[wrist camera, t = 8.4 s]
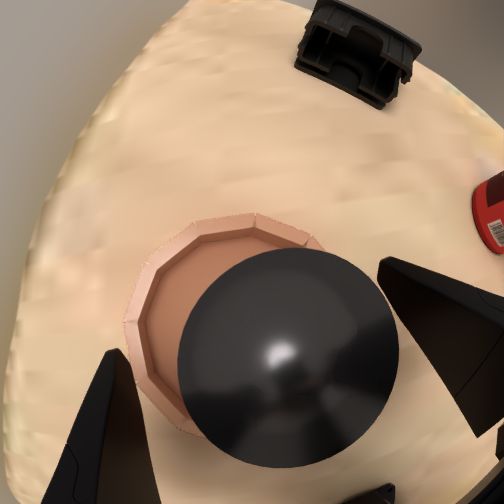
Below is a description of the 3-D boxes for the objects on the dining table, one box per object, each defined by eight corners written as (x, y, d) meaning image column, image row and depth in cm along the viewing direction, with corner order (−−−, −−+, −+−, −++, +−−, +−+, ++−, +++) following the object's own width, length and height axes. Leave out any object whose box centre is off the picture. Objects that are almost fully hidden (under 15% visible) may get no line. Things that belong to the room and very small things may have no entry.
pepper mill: (294, 365, 17) (406, 424, 6) (208, 384, 16) (208, 486, 5) (278, 281, 17) (377, 232, 7) (191, 297, 17) (157, 268, 6)
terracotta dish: (351, 398, 17) (369, 407, 15) (162, 440, 15) (156, 456, 13) (316, 216, 19) (330, 203, 17) (124, 245, 17) (112, 235, 15)
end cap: (392, 75, 25) (422, 36, 18) (385, 115, 23) (424, 70, 16) (307, 33, 24) (326, -14, 17) (287, 66, 22) (307, 9, 16)
